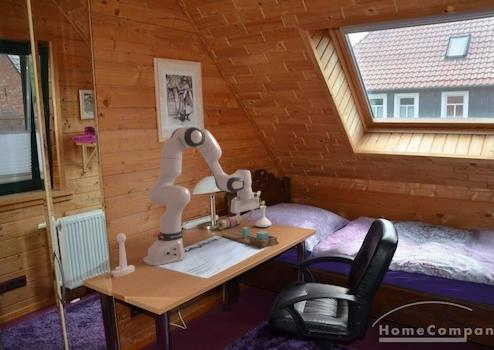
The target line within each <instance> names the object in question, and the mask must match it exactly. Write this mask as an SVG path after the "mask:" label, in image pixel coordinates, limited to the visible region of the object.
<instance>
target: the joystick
mask: <svg viewBox="0 0 494 350" xmlns="http://www.w3.org/2000/svg"><path fill="white" fill-rule="evenodd" d="M126 239H127V236H126V234H125V233H123V232H121V233H118V234H117V235H116V241H117V242H118V243H119V245H118V247H119V248H118V249H119V250H118V251H119V255H118V257H119V259H118V260H119V261H118V262H119V266H116V267H115V269H114V270H111V271H110V273H111V274H110V275H111V276H113V278H118V277H122V276H126V275H129V274H131V273H133V272H135V271H136V270H135V269H136V268H135V265H132V264H129V265H128V262H127V261H128V260H127V254H126V246H125V242H126Z"/></svg>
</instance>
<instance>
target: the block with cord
mask: <svg viewBox="0 0 494 350" xmlns="http://www.w3.org/2000/svg"><path fill="white" fill-rule="evenodd" d="M241 231H242V238H245V239H246V238H250V237H251V238H255V237H252V236H250V234H251V232H250V231H251V229H250V227H247V226H243V227H241ZM255 234H256V236H257V238H255V239H258V240H262V241H264V240H267V239H269V235H270V234H269V232H268V231H264V230H261V231H258V232H257V231H256V233H255Z"/></svg>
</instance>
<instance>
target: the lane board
mask: <svg viewBox="0 0 494 350" xmlns="http://www.w3.org/2000/svg"><path fill="white" fill-rule="evenodd" d="M250 236H252V237H255V238H257V236H256V235H255V234H252V233H250ZM224 237H225V239H229V240H231V239H232V240H231V241H234V240H235V241H234V242H237V241H239V242H238V243H240V242H241V244H243V243H245V244H244V245H246V244H248V245H247V246H250V245H251V246H250V247H253V246H254V247H253V248H257V249H260V250H262V249H266V248H269V247H273V246H275V245H276V246H277V245H279V241H278V237H277V236H274V235H270V234H269V239H267V240H264V241H262V240H258V239H255V238H251V237H250V238H246V239H245V238H242V230H236V231H233V232H229V233H225V234H222V235H221V238H224Z"/></svg>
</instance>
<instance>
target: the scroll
mask: <svg viewBox="0 0 494 350" xmlns="http://www.w3.org/2000/svg"><path fill="white" fill-rule="evenodd" d="M242 222H243V219H242V217H241V219H240V220H238V217H237V215H234V216H230V217H226V218H223V219H220V220H217V222H216V226H217V228H218V230H220V231H221V230H224V229H232V228H233V227H235V226H236V225H241V224H242Z"/></svg>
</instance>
